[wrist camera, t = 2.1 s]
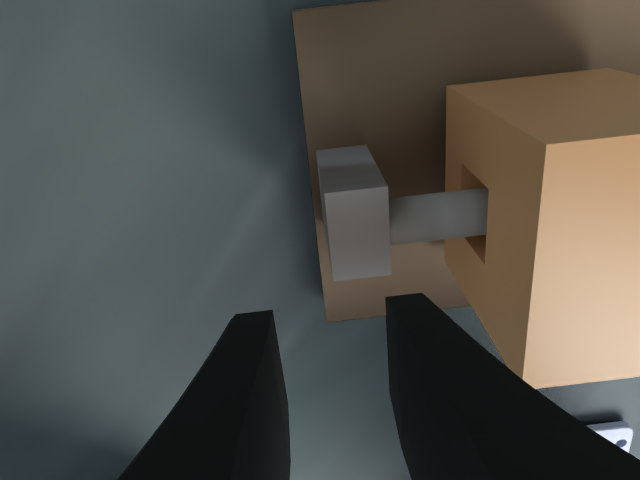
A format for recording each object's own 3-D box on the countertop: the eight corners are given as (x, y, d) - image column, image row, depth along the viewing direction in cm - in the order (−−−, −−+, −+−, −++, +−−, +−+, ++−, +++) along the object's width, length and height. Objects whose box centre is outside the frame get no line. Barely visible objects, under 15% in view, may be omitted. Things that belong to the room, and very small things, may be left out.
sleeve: (581, 244, 17) (724, 366, 11) (444, 260, 17) (520, 390, 11) (607, 67, 14) (806, 115, 9) (446, 85, 14) (546, 144, 9)
